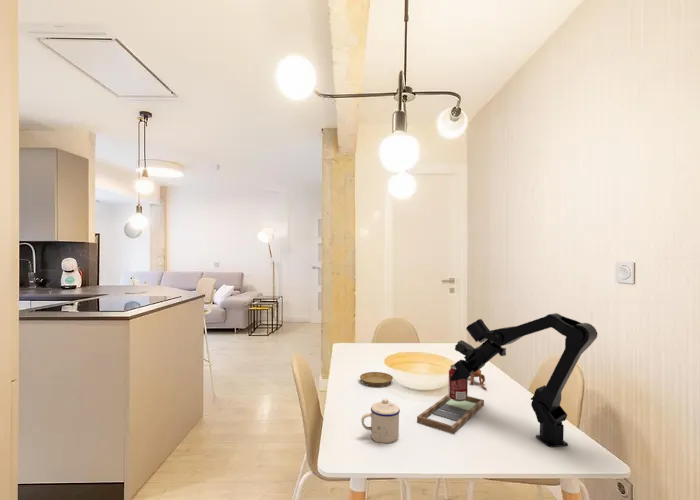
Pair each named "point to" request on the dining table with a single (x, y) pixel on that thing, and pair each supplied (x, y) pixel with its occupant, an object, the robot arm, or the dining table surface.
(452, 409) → the pads
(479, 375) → the cat figurine
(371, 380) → the plant saucer
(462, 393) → the soda can
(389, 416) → the teacup with lid
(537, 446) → the dining table surface
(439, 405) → the walnut tray
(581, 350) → the robot arm
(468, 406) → the pad
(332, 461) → the dining table surface
